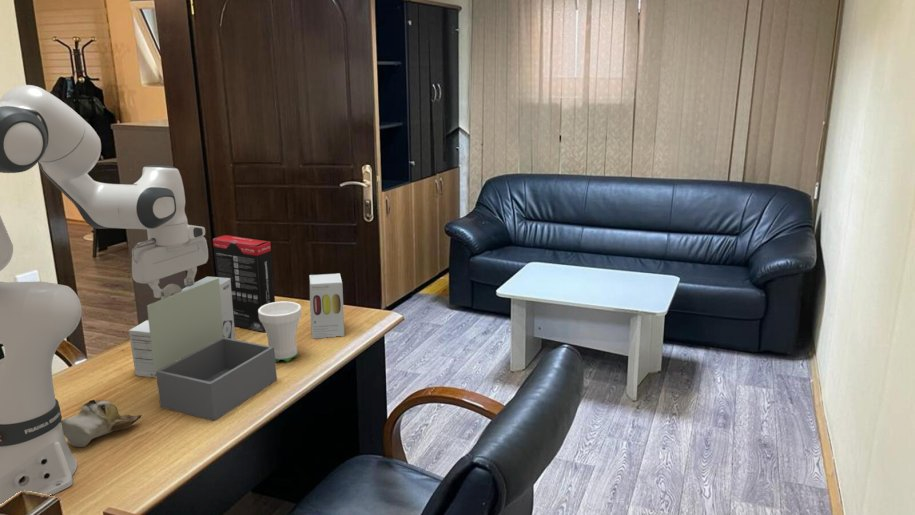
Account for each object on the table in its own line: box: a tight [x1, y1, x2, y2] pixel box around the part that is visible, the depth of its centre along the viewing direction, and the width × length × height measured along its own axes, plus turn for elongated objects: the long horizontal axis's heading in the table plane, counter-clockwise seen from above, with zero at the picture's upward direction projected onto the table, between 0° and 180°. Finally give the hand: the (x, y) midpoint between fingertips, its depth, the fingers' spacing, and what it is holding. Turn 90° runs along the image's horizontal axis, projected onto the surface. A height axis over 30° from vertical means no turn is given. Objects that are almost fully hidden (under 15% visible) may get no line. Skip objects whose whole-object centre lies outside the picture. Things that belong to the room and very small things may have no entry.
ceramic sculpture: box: [61, 399, 143, 448], centre depth 144 cm, size 11×9×15 cm
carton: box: [156, 337, 278, 422], centre depth 162 cm, size 22×16×9 cm
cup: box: [258, 300, 302, 363], centre depth 181 cm, size 11×11×14 cm
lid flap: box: [146, 278, 223, 371], centre depth 162 cm, size 22×17×5 cm
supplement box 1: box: [128, 319, 176, 379], centre depth 173 cm, size 7×7×13 cm
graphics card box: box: [212, 234, 276, 333], centre depth 202 cm, size 17×7×27 cm, turn 65°
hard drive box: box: [181, 276, 236, 359], centre depth 183 cm, size 16×8×20 cm, turn 168°
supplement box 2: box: [309, 272, 345, 340], centre depth 198 cm, size 10×9×17 cm
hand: (174, 291), depth 160 cm, fingers open, 8 cm apart
